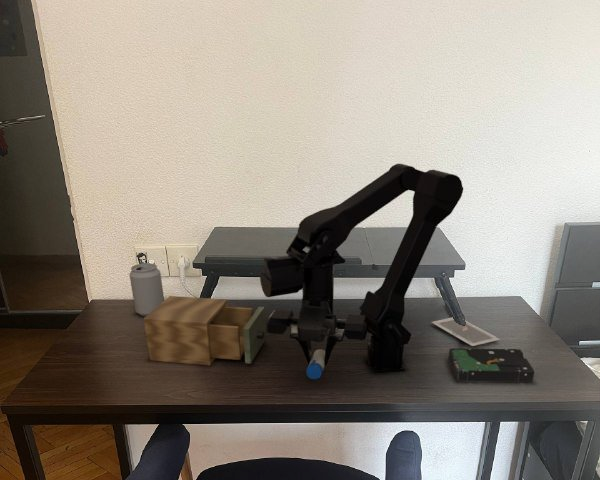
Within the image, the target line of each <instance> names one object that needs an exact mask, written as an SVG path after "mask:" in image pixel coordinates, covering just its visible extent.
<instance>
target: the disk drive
mask: <svg viewBox="0 0 600 480" xmlns="http://www.w3.org/2000/svg"><path fill="white" fill-rule="evenodd" d="M448 361H449V364H450V367H451V368H452V371H453V374H454V376H455V379H456V381H459V382H475V383H476V382H481V383H482V382H483V383H485V382H486V383H487V382H488V383H490V382H491V383H492V382H493V383H529V382H531V383H533V381H534V376H535V370H534V368H533V367H532V366H531V363H530V362H529V361H528V359H527V358H525V356H524V353H523V350H522V349H519V348H518V349H517V348H507V349H506V348H463V347H462V348H449V351H448Z"/></svg>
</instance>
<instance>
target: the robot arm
mask: <svg viewBox="0 0 600 480" xmlns="http://www.w3.org/2000/svg"><path fill="white" fill-rule="evenodd" d="M408 191H410V192H411V191H412V192H414V193H413V196H412V216H411V219H410V221H409V223H408V226H407V228H406V231H405V232H404V235H403V237H402V239H401V242H400V244H399V246H398V248H397V251H396V252H395V255H394V256H393V259H392V262H391V264H390V265H389V268H388V271H387V273H386V275H385V277H384V280H383V282H382V284H381V286H380V287H378V289H376V290H375V291H373V292H372V291H370V290H367V292H366V293H365V296H364V300H363V302H362V304H361V305H360V306H359V310H360V313H359V314H349V313H348V314H347V316H346V319H340V318H339V319H338V318H337V314H334V292H335V291H334V290H335V289H334V287H335V285H334V284H335V265H340V264H345V263H346V258H345V257H344V256H342V255H341V254H340V253H339V252H338V251H339V250H337V249H338V248H339V247H341V245H342V244H343V243H345V241H347V239H348V237H349V236H350V234H351V232H352V231H353V230H354V229H355V228H356V227H357V226H358V225H360V224H361V223H362V222H364V221H365V220H367V219H368V218H369V217H371V216H372V215H374V214H376V213H377V212H378V211H380V210H381V209H382V208H384V207H385V206H387V205H388V204H390V203H391V202H392V201H394V200H396V199H397V198H399V197H400V196H401V195H403V194H404V193H405V192H408ZM463 193H464V187H463V183H462V180H461V178H460V177H459V176H458V175H456V174H453V173H449V172H445V171H441V170H438V169H429V170H426V171H423V170H420V169H416V168H415V167H414V166H411V165H408V164H404V163H396V164H394V165H392V166H391V167H390V168H389V169H388V170H387V171H385V172H384V173H383V174H381V175H380V176H378V177H377V178H375V179H374V180H372V181H371V182H370V183H368V184H367V185H366V186H364V187H362V188H361V189H360V190H358V191H357V192H355V193H354V194H352V195H351V196H350V197H348V198H347V199H345V200H344V201H342V202H340V203H339V204H337V205H335V206H332V207H327V208H324V209H321V210H319V211H316V212H314V213H312V214H309V215H307V216H305V217H304V218H303V219H301V221H300V222H299V224H298V229H297V233H296V235H295V236H294V238H293V240H292V241H291V242H290V244H289V246H288V247H287V249H286V251H285V254H286V255H282V256H264V257H263V264H262V266H261V267H260V268H261V269H260V272H259V282H260V286H261V290H262V292H263V295H264V297H266V298H273V297H279V296H286V295H291V294H297V293H299V292H300V291H302V298H301V306H300V310H299V316H294V311H293V310H291V309H289V310H288V309H278V308H277V309H274V310H273V311H272V312H271V314H270V315H269V317H268V319H267V321H266V333H268V334H276V335H284V333H286V332H287V331H288V328H290V333H289V338H290V339H294V340H296V341H297V342H298V344H299V345H300V347H301V350H302V352H303V354H304V357H305V360H306V362H307V364H308V365H309V363H310V361H311V359H312V356H313V353H312V342H315V343H322V342H324V341H325V338H326V345H325V350H324V351H325V358H324V364H325V366H324V367H327V366H328V364H329V363H328V362H329V360H330V357H331V354H332V351H333V350H334V347H335V346H336V344H337V343H341V342H343V341H344V338H346V339H347V340H356V341H364V340H366V337H367V335H368V334H370V340H369V341H370V342H368V343H367V348H366V349H367V351H366V362H367V363H368V365H369V367H370V369H371V370H372V371H373V373H386V372H387V373H390V372H401V371H402V372H403V371H405V370H406V369H405V365H403V359H404V348H405V345H409V343H410V340H411V337H412V332H411V331H409V330H408V329H407V328H406V327H404V326H403V325H402V324H403V319H404V316H405V313H406V311H405V308H406V307H405V298H406V294H407V292H408V290H409V287H410V286H411V283H412V281H413V279H414V277H415V275H416V272H417V270H418V268H419V266H420V263H421V262H422V259H423V257H424V255H425V253H426V251H427V249H428V247H429V244H430V242H431V241H432V238H433V235H434V234H435V231H436V230H437V227H438V226H439V225H440V224H441V223H442V222H443V221H444V220H446V218H447V217H449V216H450V215H451V214H452V213H453V211H454V209H455V208H456V207H457V205H458V203H459V201H460V200H461V199H462V196H463ZM305 249H308V250H307V251H305Z"/></svg>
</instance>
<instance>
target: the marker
mask: <svg viewBox="0 0 600 480" xmlns="http://www.w3.org/2000/svg"><path fill="white" fill-rule="evenodd" d="M325 351H326V350H324V349H322V348H321V349H316V350H315V351H314V352H313V353H312V359H311V361H310V363H309V364H308V366H307V368H306V376H307V377H308V378H309V379H311V380H317V379H319V378H320V377H321V376H322V375H323V371H324V369H325V367H326V366H325V364H324V358H325Z"/></svg>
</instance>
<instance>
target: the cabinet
mask: <svg viewBox="0 0 600 480" xmlns="http://www.w3.org/2000/svg"><path fill="white" fill-rule="evenodd" d="M224 306H226V307H228V299H223V298H207V297H193V296H192V297H191V296H178V295H169V296H168V297H166V298H164V301H163V302H162V303H161V304H160V305H159V306H157V307H156V308H155V309H154V310H153V311H152V312H151V313H150V314H148V315H147V316H144V318H143V324H144V329H145V335H146V342H147V343H146V344H147V349H148V354H149V355H148V356H149V360H150V361H156V362H164V363H165V362H166V363H177V364H178V363H179V364H189V365H201V366H211V365H212V364H213V363H214V361H215V360H216V358H211V354H210V344H209V334H208V324H209V323H210V322H211V321H212V320H213V319H214V317H215V316H216V315H217V314H218V313H219V312H220V311H221V309H222V308H223V307H224Z"/></svg>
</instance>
